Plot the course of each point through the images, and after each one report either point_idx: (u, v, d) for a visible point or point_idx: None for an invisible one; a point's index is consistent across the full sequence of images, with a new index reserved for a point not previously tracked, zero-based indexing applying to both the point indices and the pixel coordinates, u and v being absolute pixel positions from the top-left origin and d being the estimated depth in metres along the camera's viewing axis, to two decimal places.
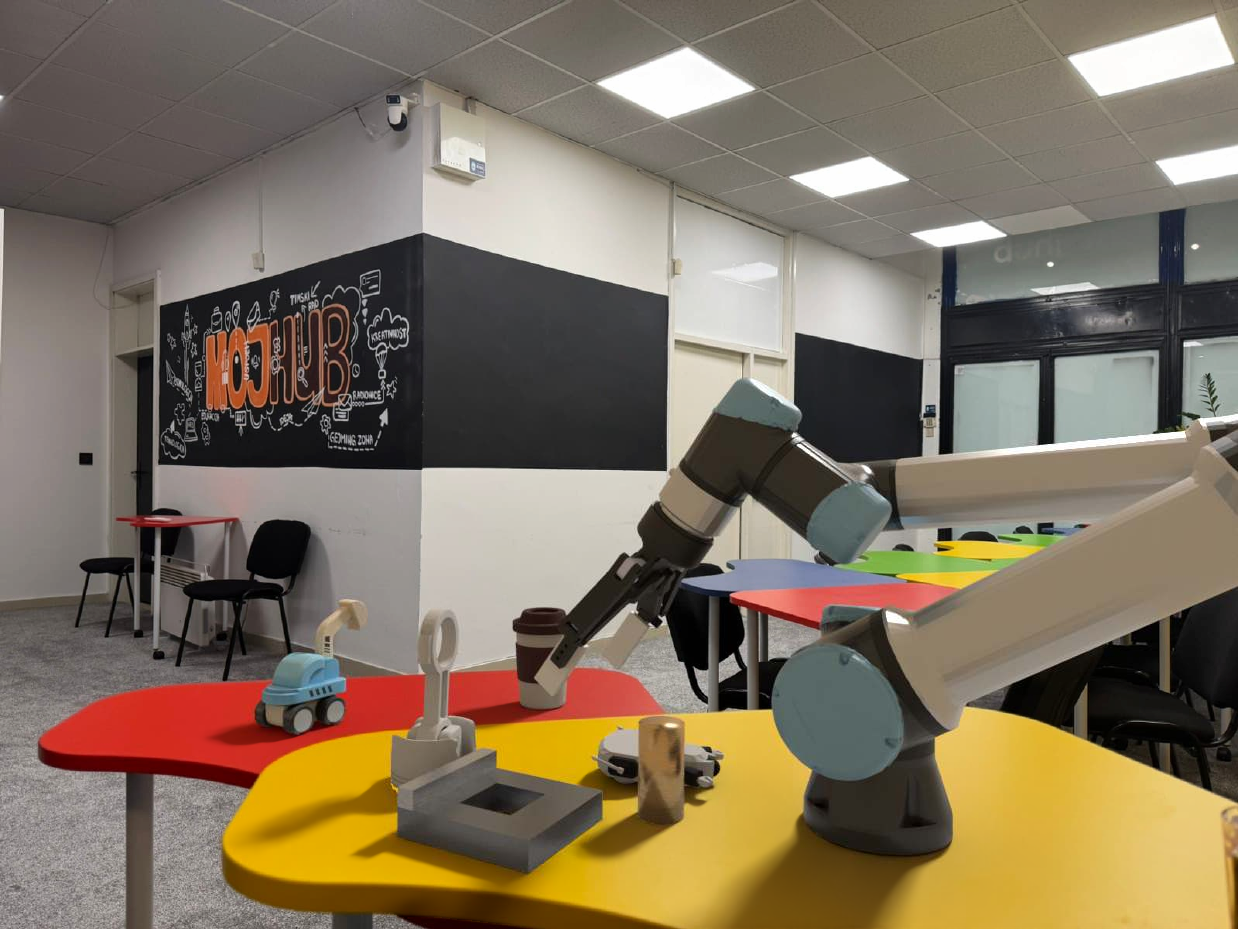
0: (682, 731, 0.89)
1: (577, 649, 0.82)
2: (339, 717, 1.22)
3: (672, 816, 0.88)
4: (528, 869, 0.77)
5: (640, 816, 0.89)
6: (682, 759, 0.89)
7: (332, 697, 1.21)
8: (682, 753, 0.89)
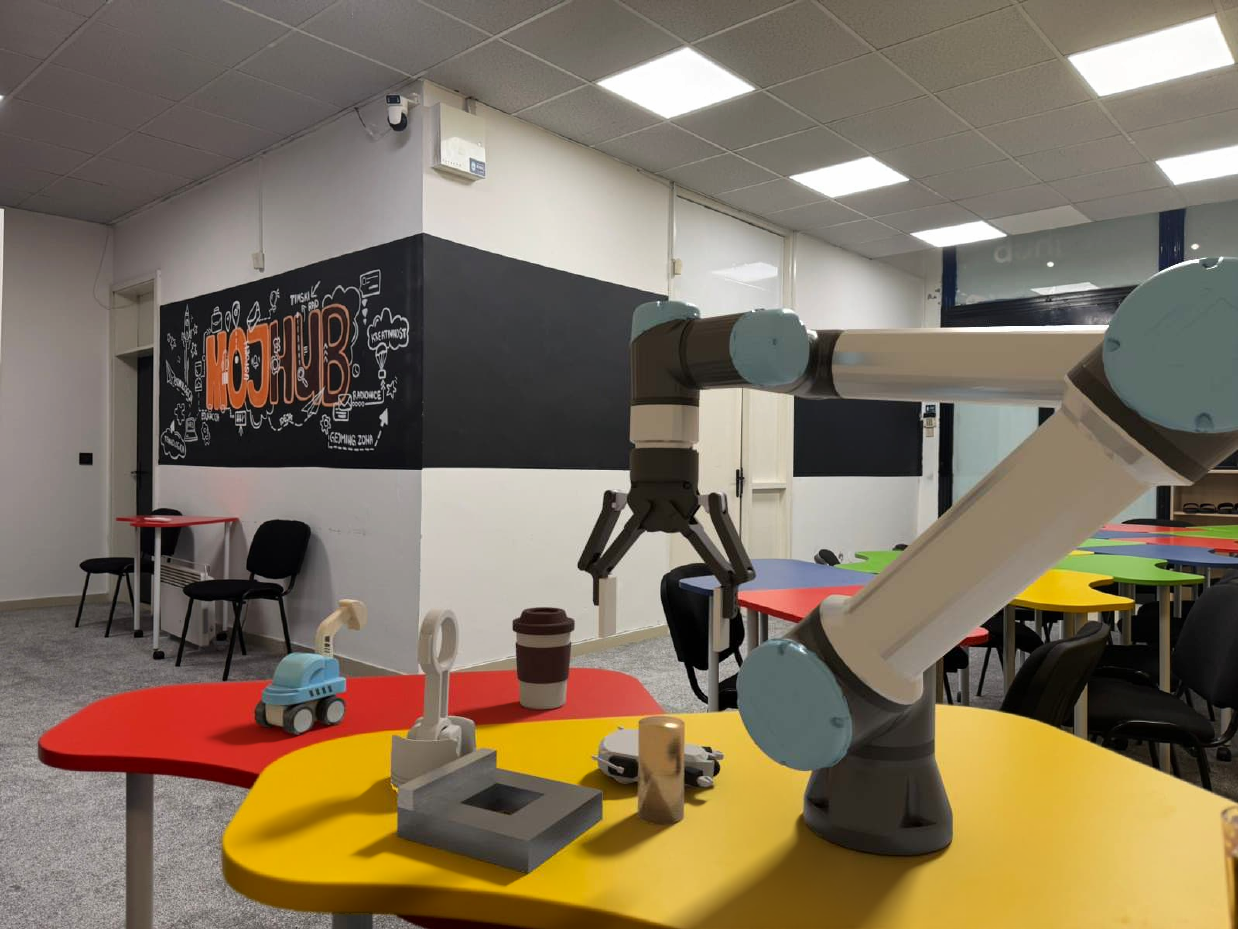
0: (682, 731, 0.89)
1: None
2: (339, 717, 1.22)
3: (672, 816, 0.88)
4: (528, 869, 0.77)
5: (640, 816, 0.89)
6: (682, 759, 0.89)
7: (332, 697, 1.21)
8: (682, 753, 0.89)
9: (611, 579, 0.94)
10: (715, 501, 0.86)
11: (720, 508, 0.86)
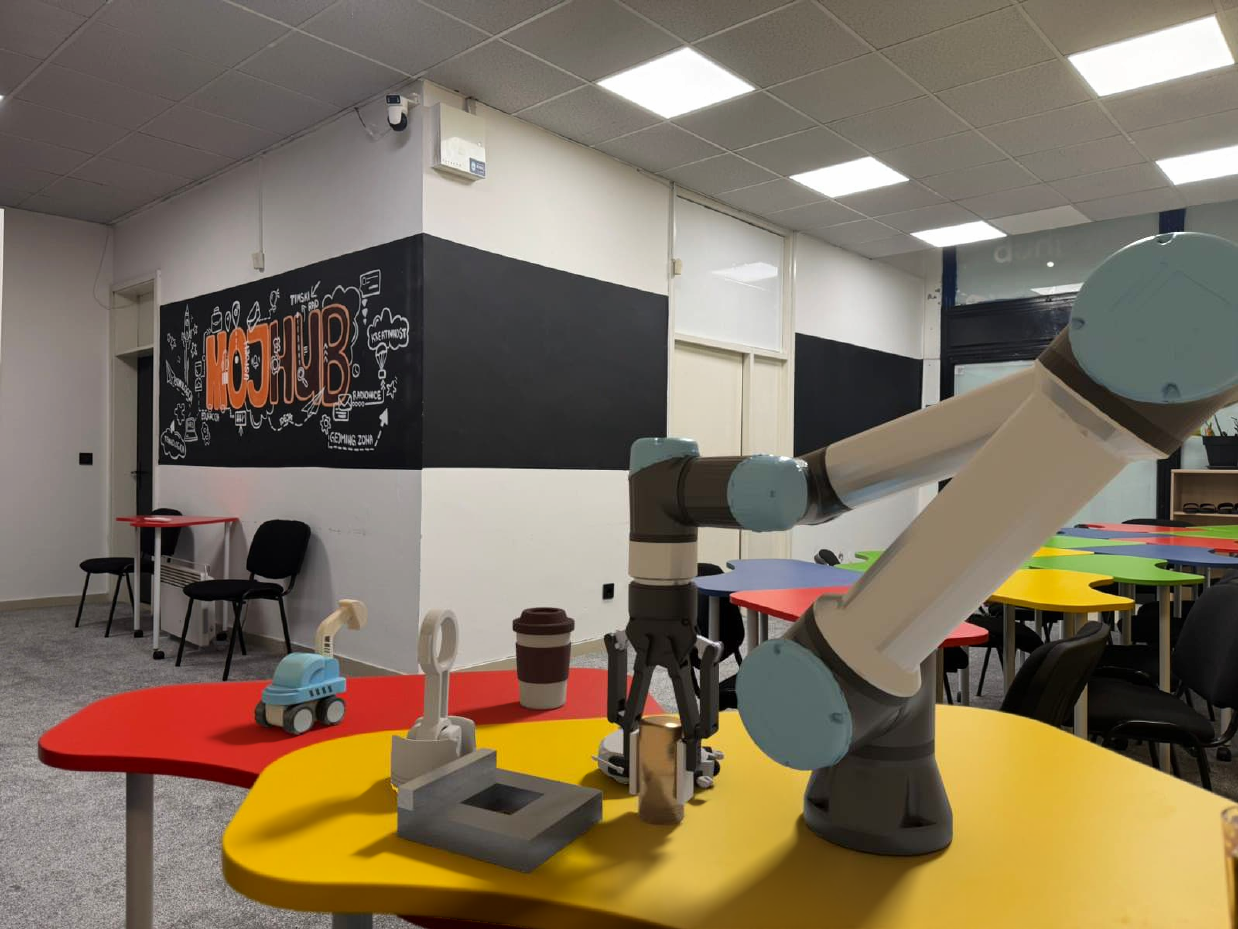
0: None
1: None
2: (339, 717, 1.22)
3: (672, 816, 0.88)
4: (528, 869, 0.77)
5: (640, 816, 0.89)
6: None
7: (332, 697, 1.21)
8: None
9: None
10: (710, 654, 0.86)
11: (712, 662, 0.87)
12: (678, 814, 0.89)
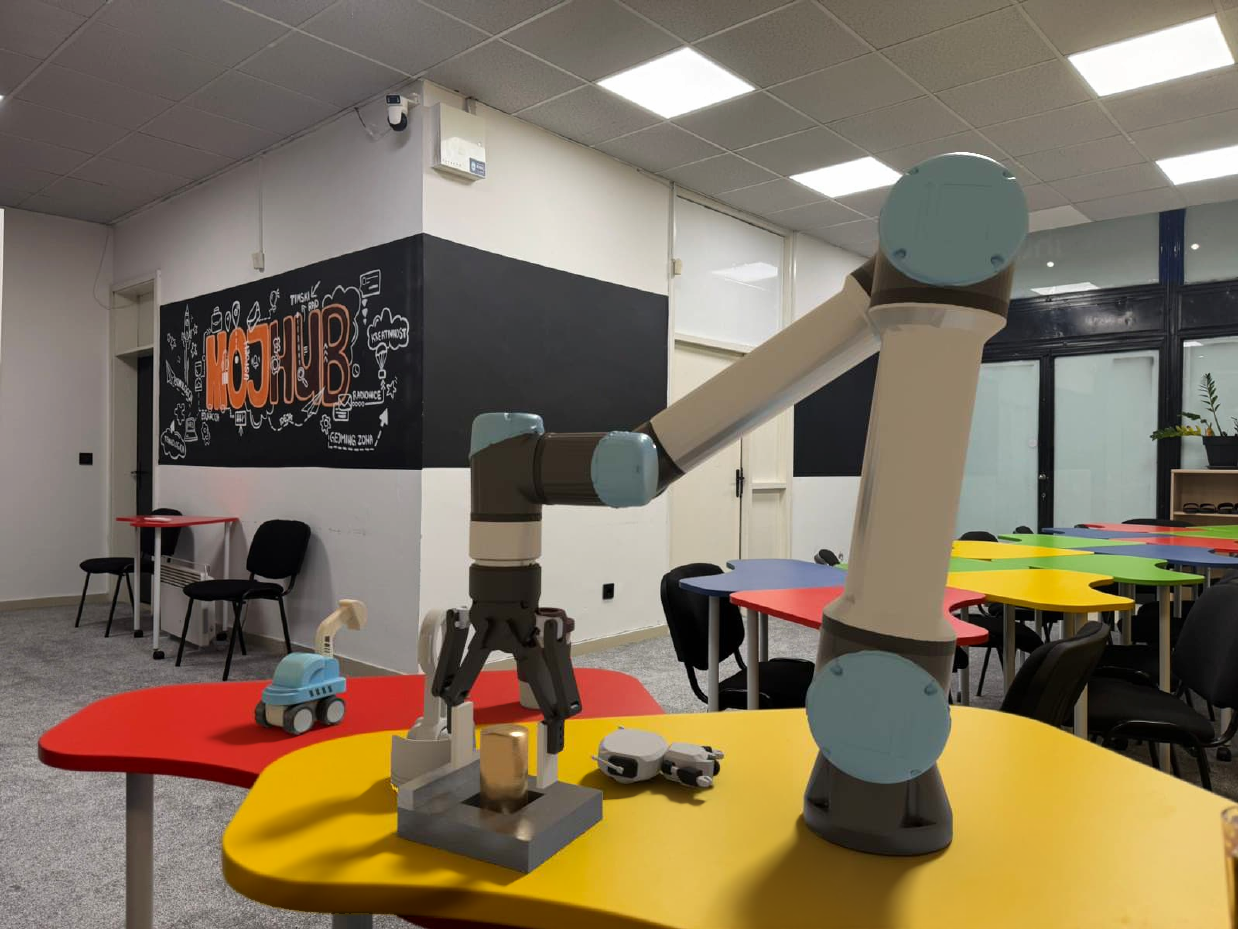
0: (524, 740, 0.86)
1: None
2: (339, 717, 1.22)
3: None
4: (528, 869, 0.77)
5: None
6: (524, 769, 0.86)
7: (332, 697, 1.21)
8: (524, 763, 0.86)
9: (466, 706, 0.89)
10: (550, 629, 0.83)
11: (554, 637, 0.83)
12: None
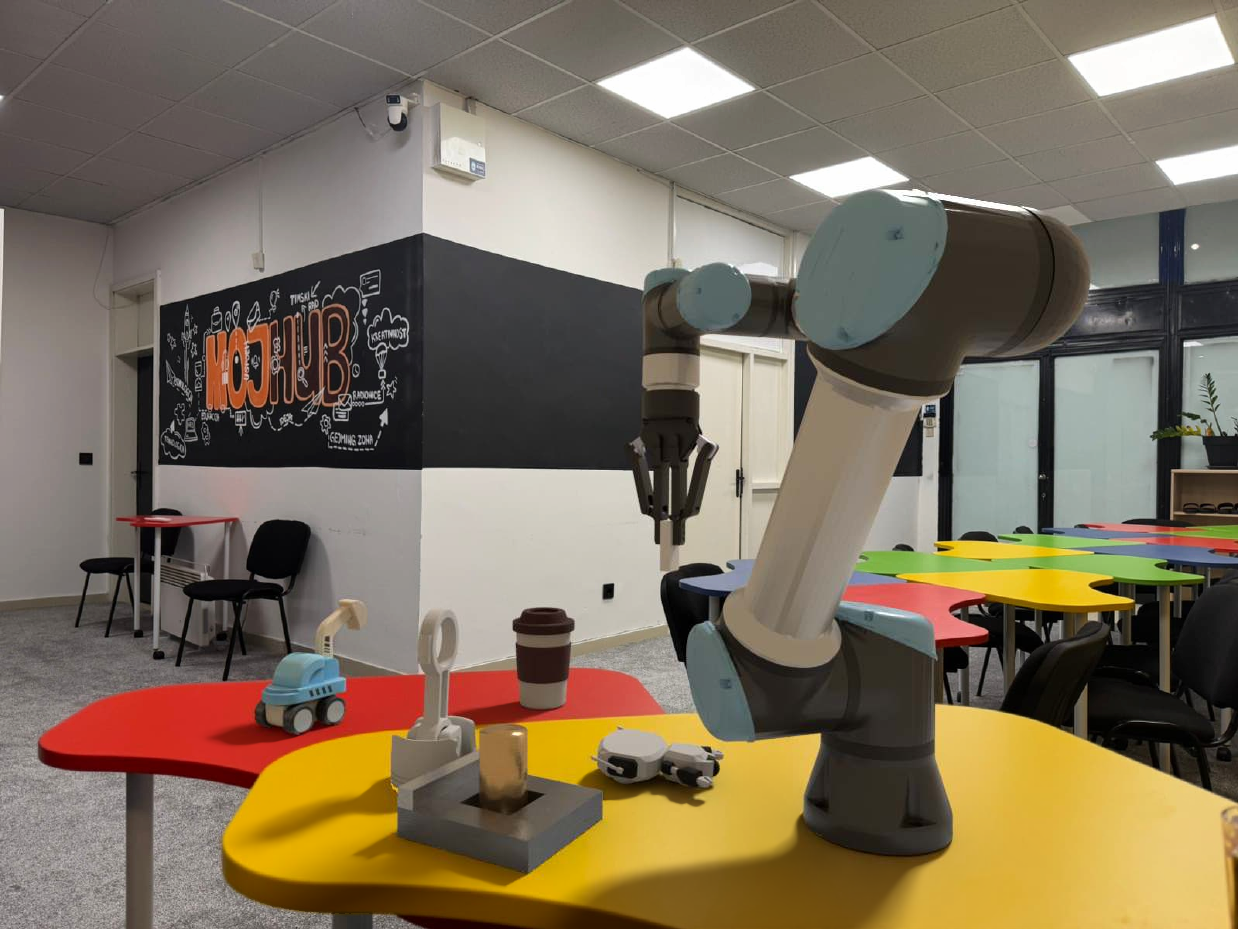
0: (523, 740, 0.86)
1: None
2: (339, 717, 1.22)
3: None
4: (528, 869, 0.77)
5: None
6: (523, 769, 0.86)
7: (332, 697, 1.21)
8: (523, 763, 0.86)
9: None
10: (707, 450, 1.05)
11: (707, 457, 1.06)
12: None
